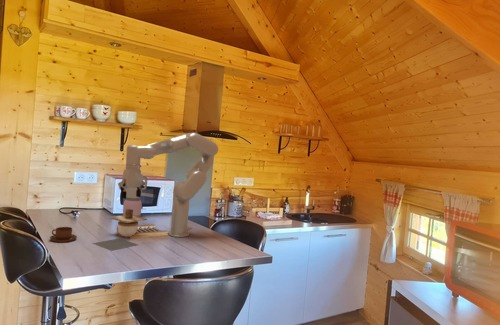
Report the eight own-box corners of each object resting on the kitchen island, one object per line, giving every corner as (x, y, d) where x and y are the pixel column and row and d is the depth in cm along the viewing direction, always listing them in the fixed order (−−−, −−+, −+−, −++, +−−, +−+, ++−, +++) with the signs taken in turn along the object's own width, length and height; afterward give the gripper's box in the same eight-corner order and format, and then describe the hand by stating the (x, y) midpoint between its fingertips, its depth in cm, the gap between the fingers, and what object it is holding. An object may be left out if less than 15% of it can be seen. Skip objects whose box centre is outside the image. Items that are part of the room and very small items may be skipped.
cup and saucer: (46, 244, 167) (47, 231, 167) (53, 237, 178) (53, 225, 178) (73, 244, 170) (74, 231, 170) (78, 237, 182) (79, 226, 181)
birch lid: (131, 215, 203) (131, 207, 203) (146, 220, 195) (147, 210, 195) (109, 218, 191) (110, 208, 191) (125, 222, 183) (126, 213, 183)
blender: (126, 219, 233) (130, 172, 232) (119, 216, 241) (122, 170, 240) (148, 218, 243) (151, 173, 242) (140, 214, 252) (144, 171, 251)
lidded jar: (130, 239, 187) (132, 222, 187) (113, 236, 189) (114, 219, 189) (140, 235, 197) (142, 218, 197) (123, 232, 199) (125, 216, 199)
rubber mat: (119, 239, 186) (119, 238, 186) (139, 245, 177) (139, 244, 177) (92, 244, 172) (92, 243, 172) (111, 251, 164) (111, 250, 164)
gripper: (141, 166, 201) (139, 195, 202) (115, 166, 187) (113, 198, 188) (149, 167, 197) (148, 197, 198) (123, 167, 183) (122, 199, 183)
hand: (131, 197), depth 193 cm, fingers open, 9 cm apart
